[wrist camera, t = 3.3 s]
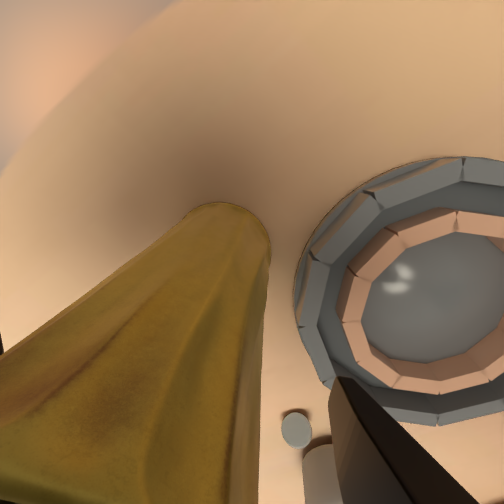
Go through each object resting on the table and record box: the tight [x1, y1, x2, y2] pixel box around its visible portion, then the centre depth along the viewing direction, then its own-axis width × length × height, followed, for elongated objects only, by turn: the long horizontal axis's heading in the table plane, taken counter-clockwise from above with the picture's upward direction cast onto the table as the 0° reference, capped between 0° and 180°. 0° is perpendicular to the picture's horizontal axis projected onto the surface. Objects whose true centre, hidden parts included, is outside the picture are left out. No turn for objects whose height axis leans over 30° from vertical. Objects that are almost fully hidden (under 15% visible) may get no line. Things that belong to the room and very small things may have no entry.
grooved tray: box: [293, 156, 504, 427], centre depth 16 cm, size 16×16×2 cm
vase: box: [0, 202, 271, 504], centre depth 10 cm, size 6×6×14 cm
